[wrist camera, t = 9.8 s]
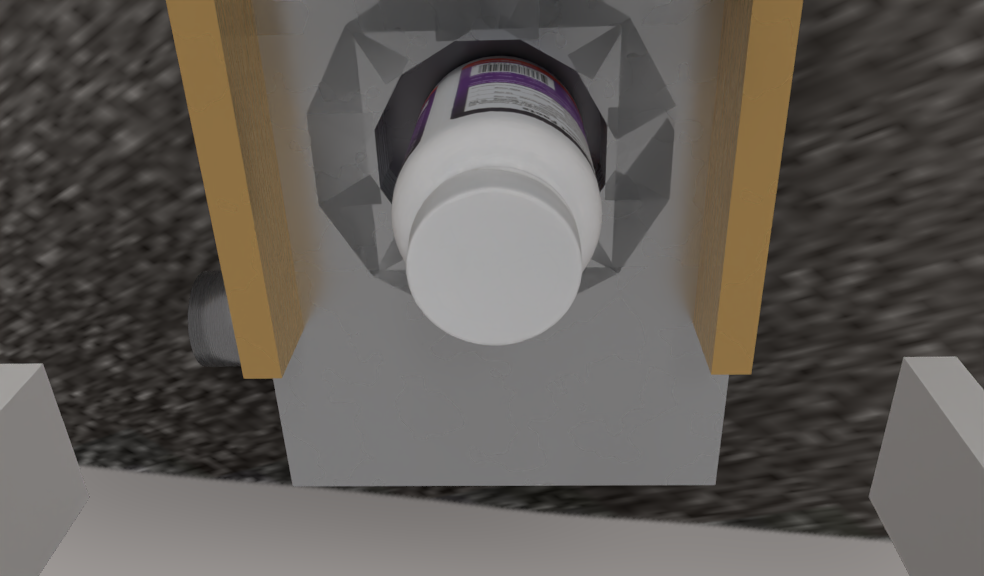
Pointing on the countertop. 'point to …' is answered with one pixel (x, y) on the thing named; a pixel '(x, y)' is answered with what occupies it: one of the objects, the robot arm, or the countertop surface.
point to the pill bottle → (497, 202)
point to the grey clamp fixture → (382, 271)
